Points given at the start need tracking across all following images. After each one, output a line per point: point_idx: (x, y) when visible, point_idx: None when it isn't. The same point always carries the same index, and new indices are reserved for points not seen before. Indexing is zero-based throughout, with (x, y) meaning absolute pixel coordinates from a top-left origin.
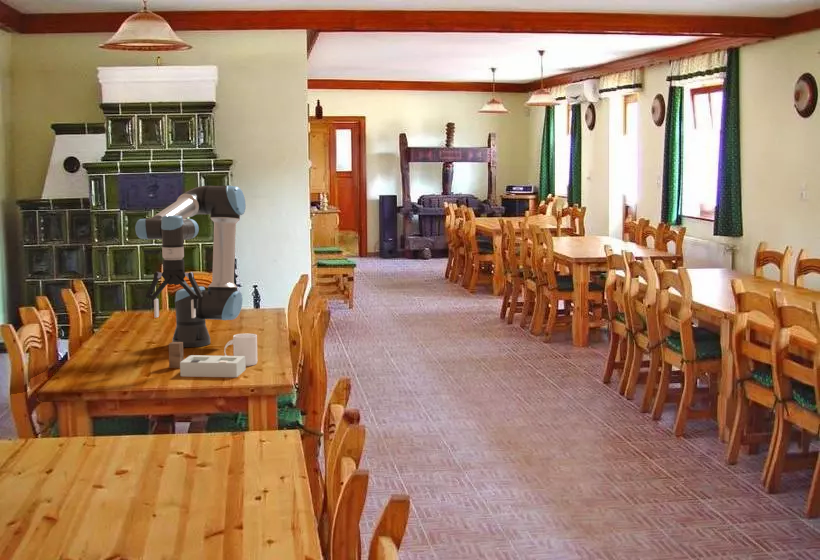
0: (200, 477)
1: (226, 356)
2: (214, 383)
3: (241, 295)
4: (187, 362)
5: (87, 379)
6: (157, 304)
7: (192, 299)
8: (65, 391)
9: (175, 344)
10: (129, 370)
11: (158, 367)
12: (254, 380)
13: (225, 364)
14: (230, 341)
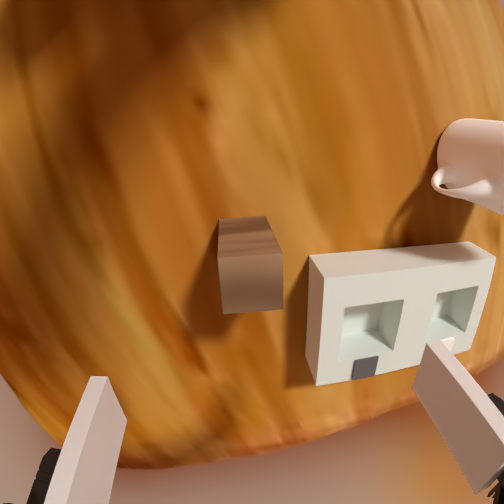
0: None
1: (452, 275)
2: (402, 387)
3: None
4: (341, 381)
5: (73, 401)
6: (92, 491)
7: (496, 471)
8: None
9: (261, 310)
10: (99, 308)
11: (171, 250)
12: (477, 340)
13: None
14: (486, 197)
